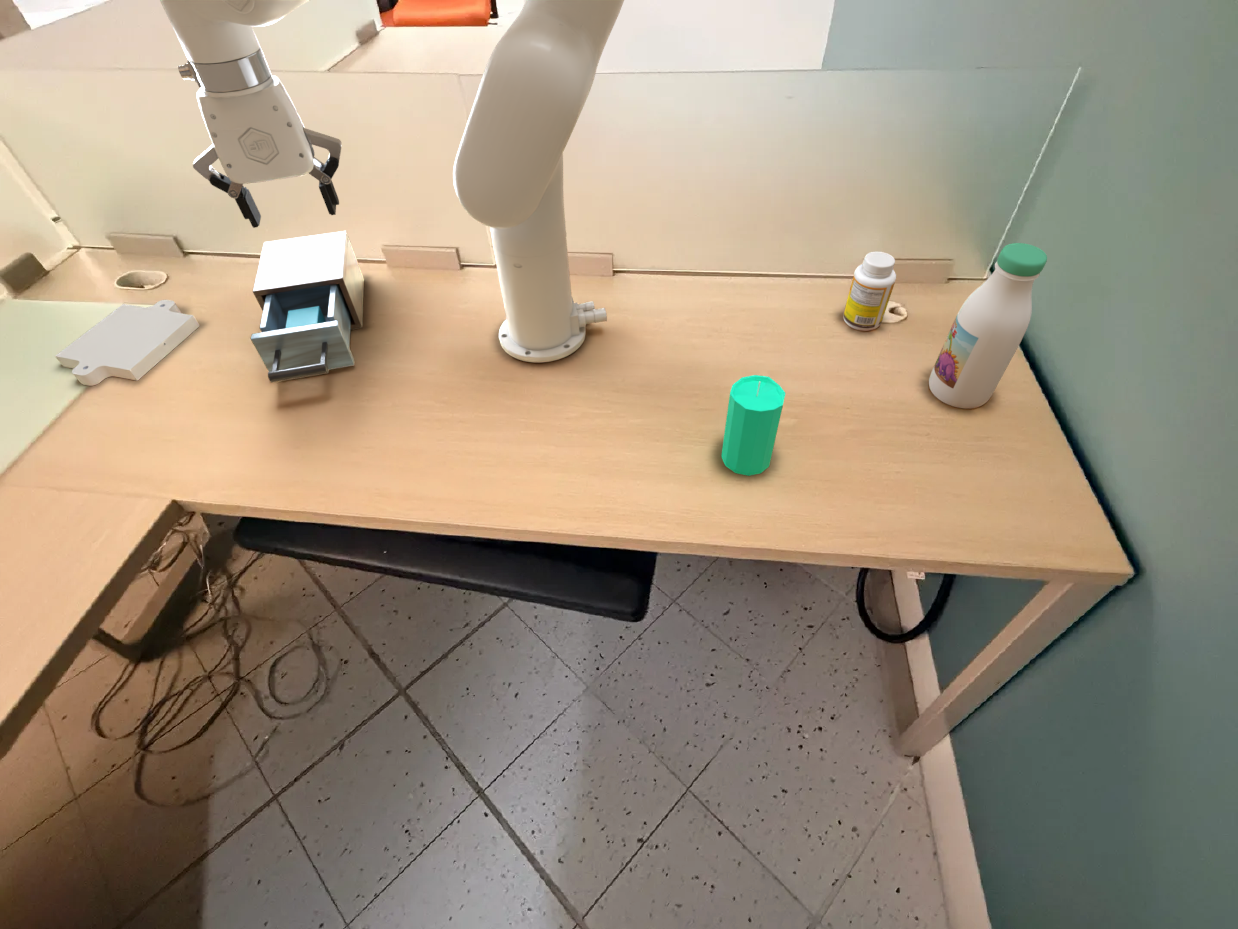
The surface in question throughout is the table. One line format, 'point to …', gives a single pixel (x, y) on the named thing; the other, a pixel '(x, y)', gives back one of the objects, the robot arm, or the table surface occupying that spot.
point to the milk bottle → (988, 330)
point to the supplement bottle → (870, 291)
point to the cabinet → (312, 269)
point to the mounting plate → (127, 342)
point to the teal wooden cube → (304, 317)
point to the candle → (752, 424)
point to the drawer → (304, 334)
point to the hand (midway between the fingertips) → (295, 216)
